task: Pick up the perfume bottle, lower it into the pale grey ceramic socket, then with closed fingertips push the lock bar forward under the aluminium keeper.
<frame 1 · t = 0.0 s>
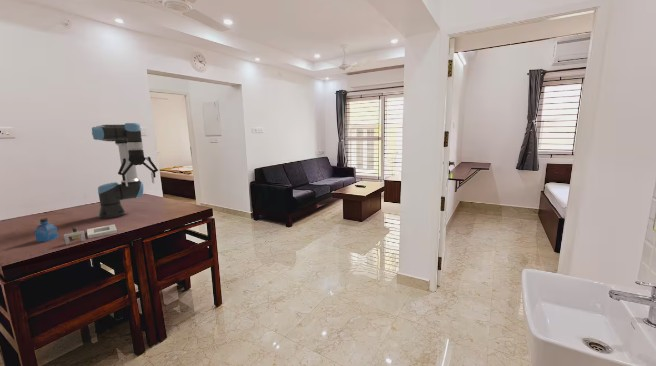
hand: (140, 184, 171), 28 cm above the table, fingers open, 13 cm apart
socket: (102, 232, 170), on the table
lock bar: (75, 233, 162), point 2 cm above the table, slide at 0.0 cm
keeper: (75, 242, 155), on the table
perfume bottle: (47, 239, 160), on the table
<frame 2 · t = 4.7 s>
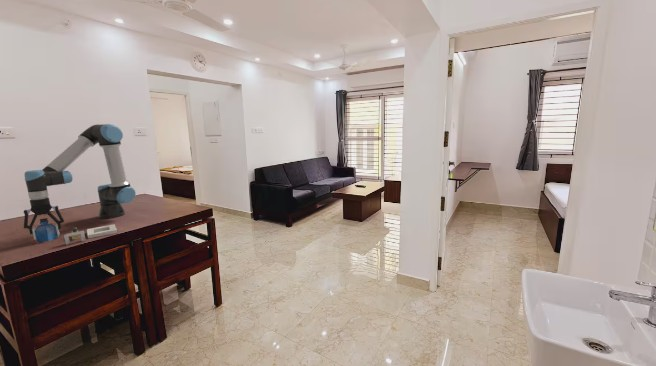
hand: (47, 236, 160), 1 cm above the table, fingers closed on perfume bottle, 9 cm apart
perfume bottle: (47, 239, 160), on the table, touching gripper
everything else where it was.
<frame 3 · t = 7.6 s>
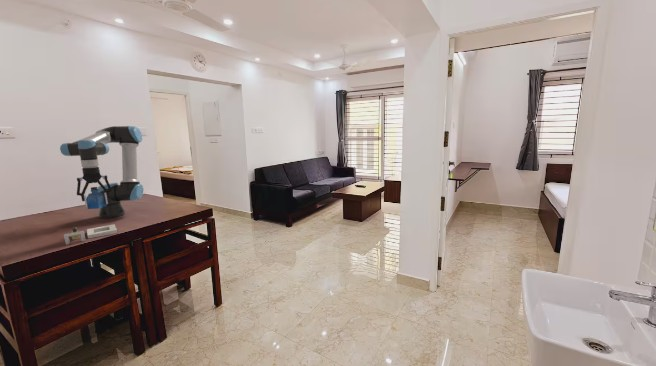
hand: (97, 204, 166), 17 cm above the table, fingers closed on perfume bottle, 9 cm apart
perfume bottle: (97, 207, 167), point 16 cm above the table, touching gripper
everything else where it was.
when the fingers open (4 cm above the table, at t = 10.6 s): perfume bottle stays where it is, resting on socket.
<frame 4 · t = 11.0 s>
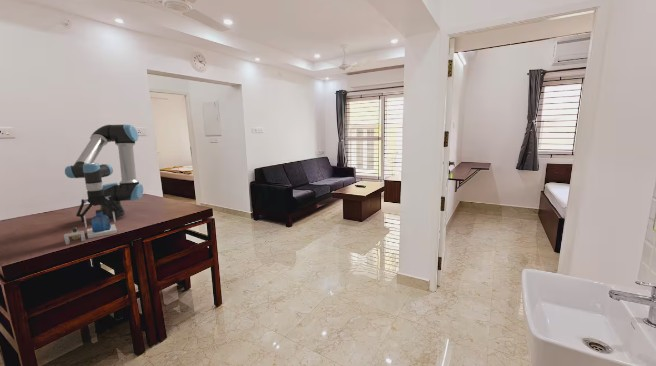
hand: (100, 224, 169), 5 cm above the table, fingers open, 13 cm apart
perfume bottle: (102, 229, 169), point 2 cm above the table, touching socket
everything else where it was.
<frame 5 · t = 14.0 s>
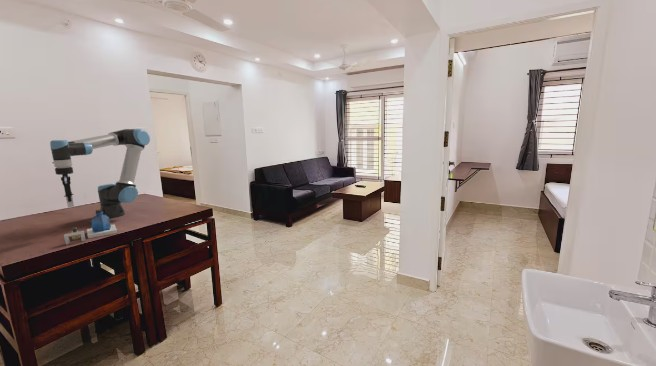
hand: (70, 206, 167), 16 cm above the table, fingers closed
nothing on the table moved.
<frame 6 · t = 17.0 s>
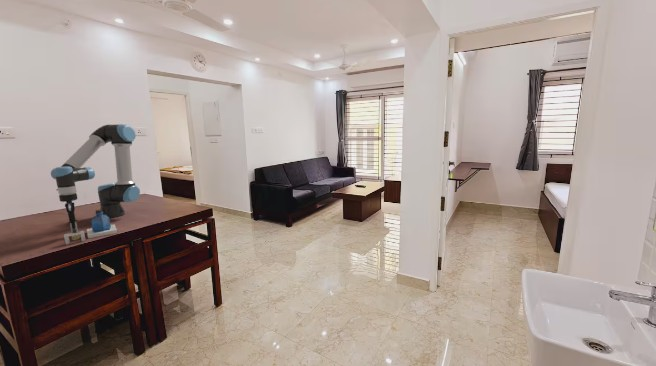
hand: (74, 232, 165), 2 cm above the table, fingers closed
lock bar: (75, 233, 161), point 2 cm above the table, slide at 1.1 cm, touching gripper
everything else where it was.
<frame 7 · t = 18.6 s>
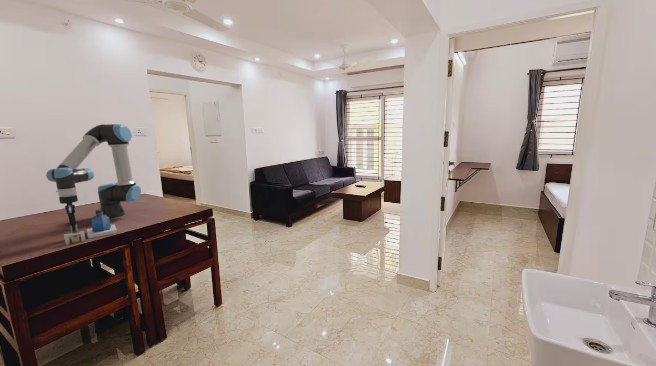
hand: (75, 235, 162), 1 cm above the table, fingers closed
lock bar: (75, 236, 157), point 2 cm above the table, slide at 6.3 cm, touching gripper
everything else where it was.
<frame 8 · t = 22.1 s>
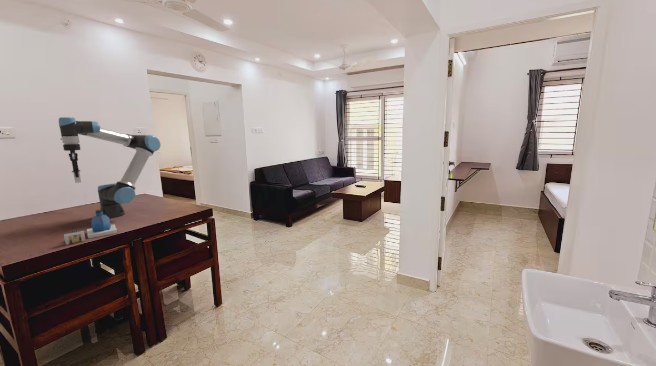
hand: (78, 182, 173), 29 cm above the table, fingers closed
lock bar: (75, 236, 157), point 2 cm above the table, slide at 6.3 cm
everything else where it was.
at the end: perfume bottle 0.1 cm from the socket (horizontally); perfume bottle tilted 0°; lock bar slide at 6.3 cm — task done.
